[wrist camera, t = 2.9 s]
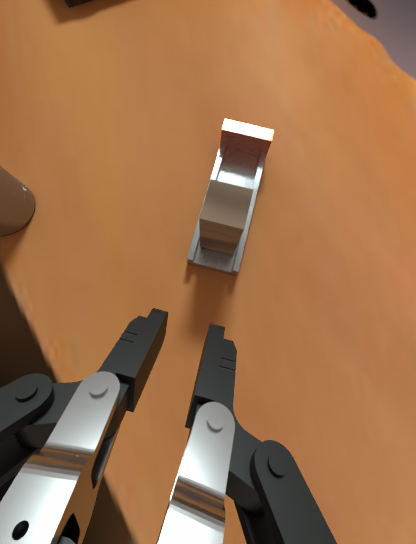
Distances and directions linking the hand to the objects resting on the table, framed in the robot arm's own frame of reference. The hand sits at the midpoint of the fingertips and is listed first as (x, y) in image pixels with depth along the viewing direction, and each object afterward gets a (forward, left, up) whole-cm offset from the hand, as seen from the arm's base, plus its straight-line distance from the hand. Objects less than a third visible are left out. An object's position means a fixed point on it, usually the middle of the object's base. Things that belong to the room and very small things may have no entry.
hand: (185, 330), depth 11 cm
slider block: (+9, +11, -20) cm, 25 cm away
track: (+13, +15, -22) cm, 30 cm away
